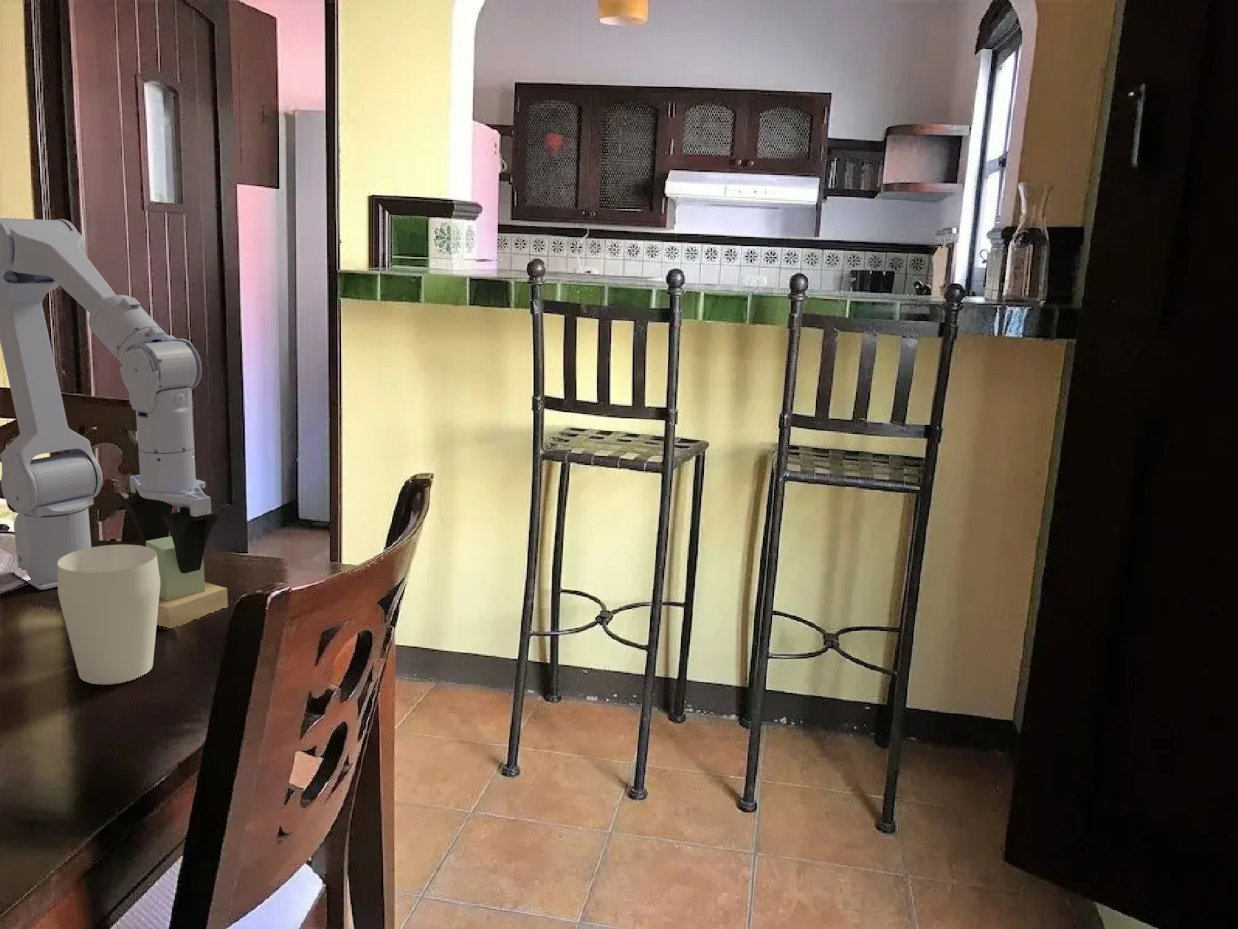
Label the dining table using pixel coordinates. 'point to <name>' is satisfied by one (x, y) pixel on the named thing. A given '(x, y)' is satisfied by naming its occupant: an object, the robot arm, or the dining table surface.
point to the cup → (110, 610)
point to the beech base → (191, 606)
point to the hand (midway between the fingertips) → (173, 563)
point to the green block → (175, 572)
